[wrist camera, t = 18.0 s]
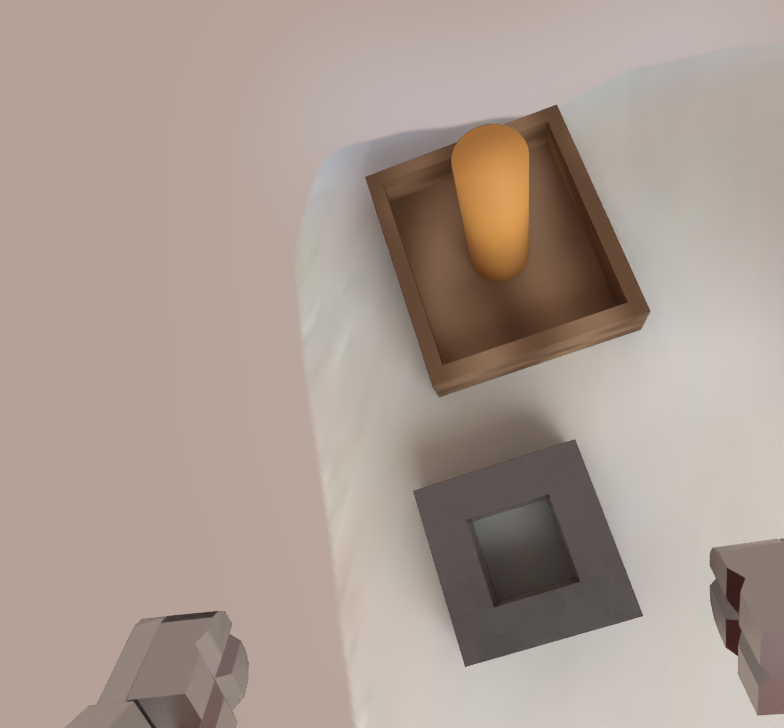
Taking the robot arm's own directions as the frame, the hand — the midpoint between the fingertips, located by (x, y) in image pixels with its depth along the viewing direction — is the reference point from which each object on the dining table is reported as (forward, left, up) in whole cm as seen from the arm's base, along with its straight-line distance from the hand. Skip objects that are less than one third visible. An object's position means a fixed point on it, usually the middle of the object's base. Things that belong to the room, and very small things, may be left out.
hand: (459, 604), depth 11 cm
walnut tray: (-6, -19, -31) cm, 37 cm away
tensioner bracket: (-1, 0, -31) cm, 31 cm away
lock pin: (-6, -19, -30) cm, 37 cm away
